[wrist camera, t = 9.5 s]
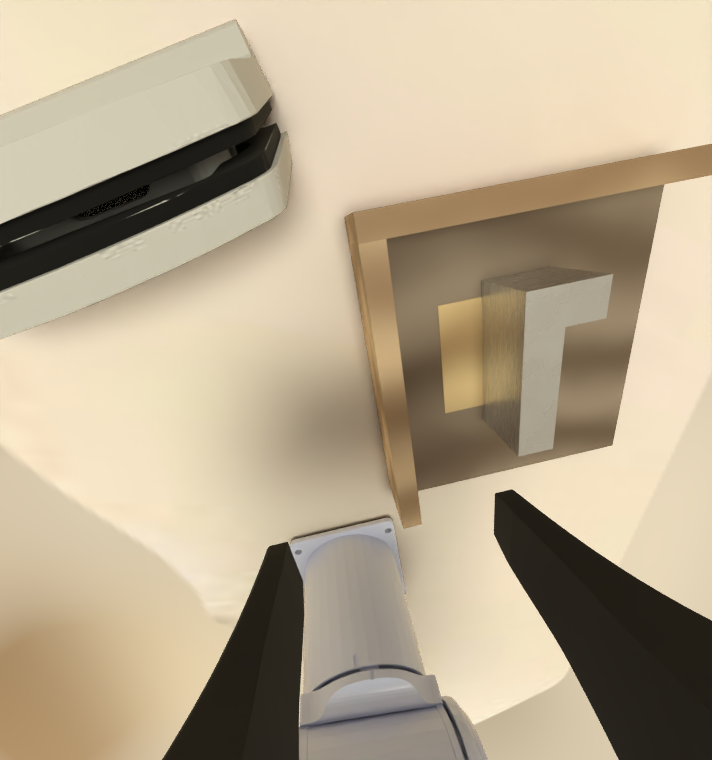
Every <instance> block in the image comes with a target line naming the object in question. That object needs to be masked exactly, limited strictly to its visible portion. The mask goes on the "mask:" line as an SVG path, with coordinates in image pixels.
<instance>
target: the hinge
mask: <svg viewBox="0 0 712 760" xmlns="http://www.w3.org/2000/svg"><path fill="white" fill-rule="evenodd" d="M272 95H273V92H272V90H271V88H270V86H269V84H268V82H267V80H266V78H265V76H264V74H263V72H262V70H261V68H260V66H259V64H258V62H257V60H256V58H255V56H254V54H253V52H252V50H251V48H250V46H249V44H248V42H247V40H246V38H245V36H244V34H243V32H242V30H241V28H240V26H239V24H238V22H237V20H236V19H234V20H232V21H229V22H227V23H224V24H222V25H219V26H217V27H215V28H212V29H210V30H207V31H205V32H202V33H200V34H198V35H195V36H193V37H190V38H188V39H185V40H183V41H180V42H178V43H176V44H173V45H171V46H168V47H166V48H163V49H161V50H159V51H156V52H154V53H151V54H149V55H146V56H144V57H141V58H139V59H137V60H134V61H132V62H129V63H127V64H124V65H122V66H120V67H117V68H115V69H112V70H110V71H107V72H105V73H102V74H100V75H98V76H95V77H93V78H90V79H88V80H85V81H83V82H80V83H78V84H76V85H73V86H71V87H68V88H66V89H63V90H61V91H59V92H56V93H54V94H51V95H49V96H46V97H44V98H41V99H39V100H37V101H34V102H32V103H29V104H27V105H24V106H22V107H20V108H17V109H15V110H12V111H10V112H7V113H5V114H2V115H0V339H3V338H5V337H8V336H11V335H14V334H16V333H19V332H22V331H24V330H27V329H30V328H32V327H35V326H38V325H41V324H43V323H46V322H49V321H51V320H54V319H57V318H60V317H62V316H65V315H67V314H70V313H72V312H75V311H77V310H80V309H82V308H84V307H87V306H89V305H92V304H94V303H97V302H99V301H102V300H104V299H107V298H109V297H111V296H113V295H116V294H118V293H120V292H122V291H125V290H127V289H129V288H131V287H134V286H136V285H138V284H140V283H143V282H145V281H147V280H149V279H151V278H154V277H156V276H158V275H160V274H163V273H165V272H167V271H169V270H171V269H174V268H176V267H178V266H180V265H182V264H184V263H186V262H188V261H190V260H193V259H195V258H197V257H199V256H201V255H203V254H205V253H207V252H209V251H211V250H213V249H215V248H217V247H219V246H221V245H223V244H225V243H227V242H229V241H231V240H232V239H234V238H236V237H238V236H240V235H242V234H244V233H246V232H248V231H250V230H252V229H254V228H256V227H257V226H259V225H261V224H263V223H265V222H267V221H269V220H271V219H273V218H274V217H276V216H277V215H278V214H280V213H281V212H282V211H283V210H284V209H285V208H286V206H287V200H288V192H289V184H290V176H291V169H292V160H291V154H290V148H289V142H288V136H287V132H283V133H280V131H279V128H278V126H277V123H275V124H273V125H270V126H268V127H265V128H263V129H260V127H261V126H262V124H263V123H264V121H265V120H266V118H267V116H268V115H269V113H270V112H271V110H272V109H271V106H270V103H269V101H268V100H269V98H270V97H271V96H272ZM259 129H260V130H259ZM148 184H149V191H148V193H147V194H146V195H144V196H141V197H139V198H136V199H134V200H131V201H129V202H126V203H124V204H121V205H119V206H116V207H114V208H111V209H109V210H106V211H104V212H101V213H98V214H96V215H93V216H91V217H84V216H79V215H78V214H80V213H83V212H85V211H87V210H90V209H92V208H95V207H97V206H99V205H102V204H104V203H106V202H109V201H111V200H113V199H115V198H118V197H120V196H122V195H125V194H127V193H129V192H132V191H134V190H136V189H138V188H141V187H143V186H145V185H148Z"/></svg>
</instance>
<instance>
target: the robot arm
mask: <svg viewBox="0 0 712 760" xmlns="http://www.w3.org/2000/svg"><path fill="white" fill-rule="evenodd" d="M387 528H389V529H387ZM494 535H495V537H496V539H497V541H498V543H499V545H500V548H501V550H502V552H503V554H504V556H505V558H506V560H507V562H508V563H509V565H510V567H511V569H512V570H513V572H514V573H515V575H516V577H517V578H518V580H519V582H520V583H521V585H522V586H523V588H524V590H525V591H526V593H527V594H528V596H529V597H530V599H531V601H532V602H533V604H534V605H535V607H536V609H537V610H538V612H539V613H540V615H541V616H542V618H543V620H544V621H545V623H546V624H547V626H548V628H549V629H550V631H551V632H552V634H553V635H554V637H555V639H556V640H557V642H558V644H559V646H560V647H561V649H562V651H563V652H564V654H565V656H566V658H567V660H568V662H569V663H570V665H571V667H572V669H573V671H574V673H575V675H576V676H577V679H578V680H579V682H580V684H581V686H582V688H583V690H584V692H585V693H586V696H587V698H588V699H589V701H590V703H591V705H592V707H593V709H594V711H595V713H596V715H597V717H598V719H599V721H600V723H601V725H602V727H603V729H604V731H605V732H606V735H607V737H608V739H609V741H610V743H611V744H612V747H613V749H614V751H615V753H616V755H617V757H618V759H619V760H712V621H711V620H709V619H708V618H706V617H703V616H702V615H700V614H698V613H696V612H694V611H692V610H691V609H689V608H687V607H685V606H683V605H681V604H680V603H678V602H676V601H674V600H673V599H671V598H669V597H667V596H666V595H663V594H662V593H660V592H659V591H657V590H655V589H654V588H652V587H650V586H649V585H647V584H645V583H644V582H642V581H640V580H639V579H637V578H635V577H634V576H632V575H631V574H629V573H627V572H626V571H624V570H623V569H621V568H620V567H618V566H617V565H615V564H614V563H612V562H611V561H609V560H608V559H606V558H605V557H603V556H602V555H600V554H599V553H597V552H596V551H594V550H593V549H591V548H590V547H588V546H587V545H585V544H584V543H583V542H581V541H580V540H579V539H577V538H576V537H574V536H573V535H572V534H570V533H569V532H567V531H566V530H565V529H563V528H562V527H561V526H559V525H558V524H557V523H555V522H554V521H553V520H551V519H550V518H549V517H547V516H546V515H545V514H543V513H542V512H541V511H539V510H538V509H537V508H536V507H534V506H533V505H532V504H530V503H529V502H528V501H527V500H525V499H524V498H523V497H522V496H520V495H519V494H518V493H516V492H515V491H514V490H508V491H504V492H499V493H495V514H494ZM303 583H304V586H305V620H304V597H303ZM405 594H406V592H405V586H404V580H403V575H402V569H401V563H400V558H399V552H398V546H397V541H396V535H395V529H394V524H393V521H392V519H391V518H383V519H379V520H374V521H370V522H366V523H362V524H357V525H353V526H349V527H345V528H341V529H336V530H332V531H328V532H324V533H320V534H315V535H311V536H307V537H303V538H298V539H295V540H293V541H291V543H290V546H289V544H288V542H285V543H281V544H277V545H272V546H269V548H268V549H267V551H266V554H265V557H264V560H263V562H262V565H261V568H260V570H259V573H258V575H257V578H256V580H255V583H254V585H253V588H252V590H251V593H250V595H249V597H248V600H247V602H246V604H245V606H244V609H243V611H242V613H241V615H240V618H239V620H238V622H237V624H236V627H235V629H234V631H233V633H232V635H231V637H230V639H229V641H228V643H227V645H226V647H225V649H224V651H223V653H222V655H221V657H220V659H219V661H218V663H217V665H216V667H215V669H214V671H213V673H212V675H211V677H210V679H209V680H208V682H207V684H206V686H205V688H204V690H203V691H202V693H201V695H200V697H199V699H198V700H197V702H196V704H195V706H194V708H193V709H192V711H191V713H190V714H189V716H188V718H187V720H186V721H185V723H184V725H183V726H182V728H181V730H180V731H179V733H178V735H177V736H176V738H175V740H174V741H173V743H172V745H171V746H170V748H169V750H168V751H167V753H166V754H165V756H164V758H163V759H162V760H487V757H486V754H485V751H484V749H483V746H482V744H481V741H480V739H479V736H478V734H477V732H476V730H475V728H474V726H473V724H472V722H471V720H470V719H469V717H468V716H467V714H466V713H465V712H464V711H463V710H462V709H461V708H460V707H459V705H458V704H457V702H456V701H455V700H454V699H453V698H452V697H449V696H442V697H441V695H440V691H439V688H438V684H437V681H436V677H435V675H426V674H425V671H424V667H423V663H422V659H421V655H420V652H419V648H418V644H417V640H416V636H415V633H414V629H413V625H412V621H411V618H410V614H409V610H408V606H407V602H406V599H405ZM303 627H304V690H303V691H304V693H303V694H302V695H301V698H300V700H301V701H300V727H299V696H300V678H301V662H302V645H303Z"/></svg>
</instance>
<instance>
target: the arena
mask: <svg viewBox="0 0 712 760" xmlns="http://www.w3.org/2000/svg"><path fill="white" fill-rule="evenodd" d="M663 187H664V184H663V185H658V186H653V187H648V188H643V189H638V190H633V191H628V192H622V193H617V194H612V195H607V196H602V197H597V198H592V199H587V200H582V201H577V202H572V203H566V204H561V205H556V206H551V207H546V208H541V209H536V210H531V211H526V212H521V213H516V214H510V215H505V216H500V217H495V218H490V219H485V220H480V221H475V222H470V223H465V224H460V225H454V226H449V227H444V228H439V229H434V230H429V231H424V232H419V233H414V234H409V235H404V236H399V237H393V238H388V239H386V241H387V249H388V257H389V265H390V273H391V281H392V289H393V297H394V305H395V313H396V321H397V329H398V337H399V345H400V353H401V362H402V370H403V378H404V386H405V394H406V402H407V410H408V418H409V426H410V434H411V442H412V450H413V458H414V466H415V474H416V482H417V490H418V491H419V490H424V489H428V488H432V487H436V486H441V485H445V484H449V483H453V482H458V481H462V480H466V479H471V478H475V477H479V476H483V475H488V474H492V473H496V472H500V471H505V470H509V469H513V468H517V467H522V466H526V465H530V464H535V463H539V462H543V461H547V460H552V459H556V458H560V457H564V456H569V455H573V454H577V453H582V452H586V451H590V450H594V449H599V448H603V447H607V446H611V445H612V444H613V439H614V434H615V429H616V424H617V419H618V414H619V409H620V404H621V399H622V394H623V389H624V384H625V379H626V374H627V369H628V363H629V358H630V353H631V348H632V343H633V338H634V333H635V328H636V323H637V318H638V313H639V308H640V303H641V298H642V293H643V288H644V283H645V278H646V273H647V268H648V263H649V258H650V253H651V248H652V243H653V238H654V233H655V228H656V223H657V218H658V212H659V207H660V202H661V197H662V192H663ZM551 266H553V267H561V268H569V269H577V270H585V271H593V272H601V273H610V274H613V279H612V285H611V292H610V298H609V304H608V311H607V317H606V318H605V319H601V320H596V321H591V322H587V323H582V324H577V325H573V326H568V327H565V337H564V346H563V356H562V366H561V375H560V385H559V395H558V404H557V414H556V424H555V433H554V443H553V449H550V450H545V451H541V452H537V453H532V454H528V455H524V456H519V457H518V456H517V455H516V454H515V453H514V452H513V451H512V449H511V448H510V447H509V446H508V445H507V444H506V443H505V442H504V441H503V440H502V439H501V438H500V437H499V436H498V435H497V434H496V433H495V432H494V430H493V429H492V428H491V427H490V426H489V425H488V424H487V423H486V422H485V421H484V420H483V364H482V281H483V280H487V279H492V278H497V277H502V276H507V275H512V274H517V273H522V272H526V271H531V270H536V269H541V268H546V267H551Z"/></svg>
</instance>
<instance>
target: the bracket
mask: <svg viewBox="0 0 712 760" xmlns="http://www.w3.org/2000/svg"><path fill="white" fill-rule="evenodd" d="M612 279H613V274H610V273H601V272H593V271H585V270H577V269H569V268H561V267H553V266H551V267H546V268H541V269H536V270H531V271H526V272H522V273H517V274H512V275H507V276H502V277H497V278H492V279H487V280H483V281H482V364H483V420H484V421H485V422H486V423H487V424H488V425H489V426H490V427H491V428H492V429H493V430H494V432H495V433H496V434H497V435H498V436H499V437H500V438H501V439H502V440H503V441H504V442H505V443H506V444H507V445H508V446H509V447H510V448H511V449H512V451H513V452H514V453H515V454H516V455H517V456H518V457H519V456H524V455H528V454H532V453H537V452H541V451H545V450H550V449H553V443H554V433H555V424H556V414H557V404H558V395H559V385H560V375H561V366H562V356H563V346H564V337H565V327H568V326H573V325H577V324H582V323H587V322H591V321H596V320H601V319H605V318H606V317H607V311H608V304H609V298H610V292H611V285H612Z"/></svg>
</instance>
